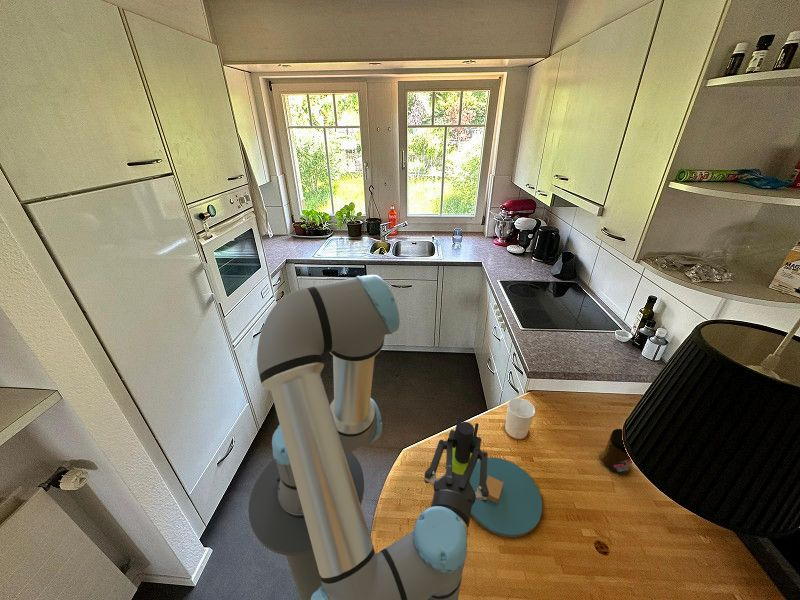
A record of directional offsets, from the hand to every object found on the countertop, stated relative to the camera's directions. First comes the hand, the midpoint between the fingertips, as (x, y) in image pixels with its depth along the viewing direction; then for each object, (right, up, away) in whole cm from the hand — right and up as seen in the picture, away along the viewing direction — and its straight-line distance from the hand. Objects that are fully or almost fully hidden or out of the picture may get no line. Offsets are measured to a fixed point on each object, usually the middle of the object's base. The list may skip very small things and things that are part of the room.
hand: (467, 425), depth 80 cm
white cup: (+20, -11, +23) cm, 32 cm away
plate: (+10, -20, +5) cm, 23 cm away
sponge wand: (-2, -10, -1) cm, 10 cm away
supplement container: (+45, -16, +12) cm, 49 cm away
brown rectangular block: (+7, -19, +4) cm, 21 cm away
